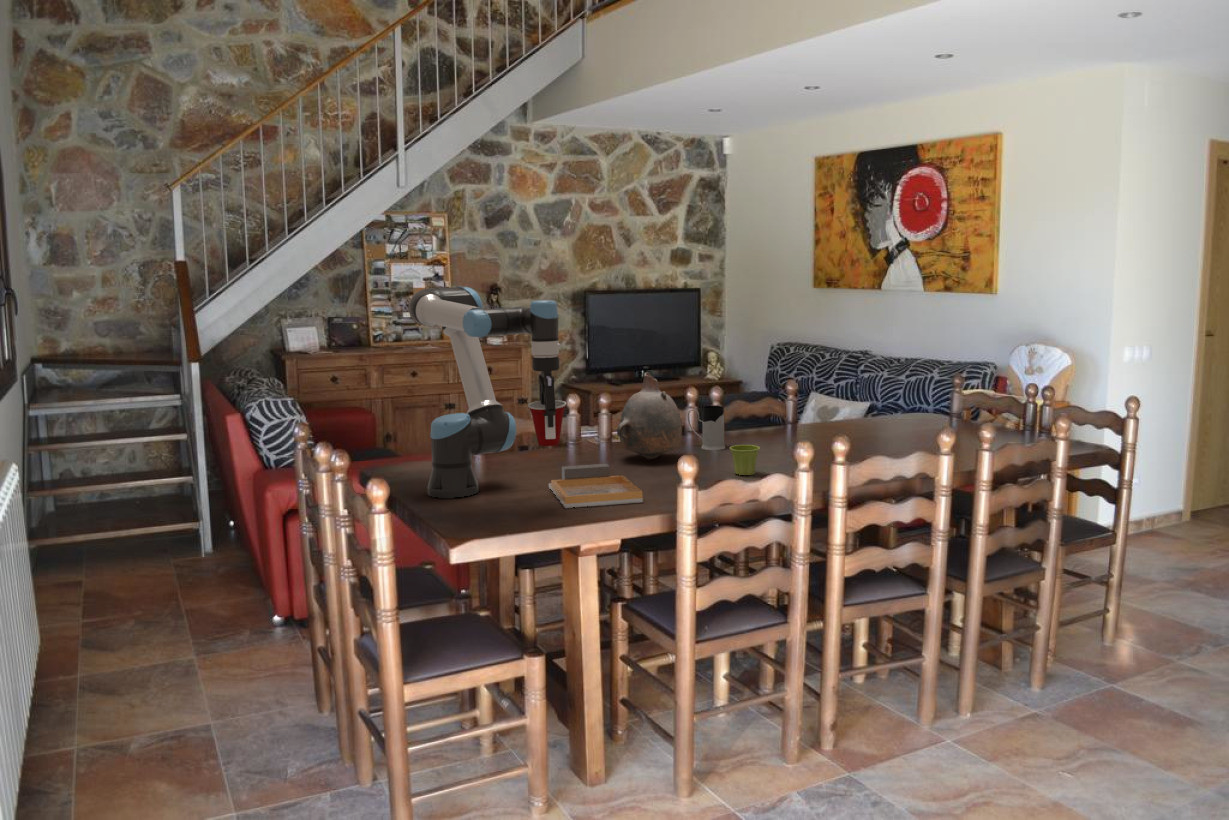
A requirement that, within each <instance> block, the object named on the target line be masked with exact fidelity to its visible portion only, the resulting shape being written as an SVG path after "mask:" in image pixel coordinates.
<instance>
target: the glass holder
mask: <svg viewBox="0 0 1229 820" xmlns="http://www.w3.org/2000/svg"><path fill="white" fill-rule="evenodd" d="M724 410H725V409H724V406H722V405H705V406H702V420H701V418H700V413H699V411H698V410H697V409H695V408H693V409H690V410H689V411H688V412H687V422H688V424H689V427H690V430H691V431H692V432H693V433H694V434H695V435H696V436H697V437H699V438H700V440H701V442H702V445H701V450H706V451H720V450H721V449H722V450H726V446H725V412H724ZM692 411H694V412H696V413H697V417H698V418H697V420H698V421H699V422H701V423H702V430H701V431H702V436H701V435H700V434H698V432H697V431H695V429H694V428H693V427H692V425H691V422H690V412H692Z"/></svg>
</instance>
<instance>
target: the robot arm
mask: <svg viewBox="0 0 1229 820" xmlns="http://www.w3.org/2000/svg"><path fill="white" fill-rule="evenodd" d="M529 305H530V306H529V307H528V306H522V305H521V306H513V307H501V308H484V307H483V302H482V299H481V296H480V295H479V293H478V292H477V291H476V290H475V289H473V288H471V287H469V286H454V287H452V286H451V287H449V286H448V287H428V288H423V289H421V290H418V291H417V292H415V293H414V294H413V295H412V296H411V298H410V300H409V302H408V313H409V315H410V316H409V317H411V319H412V320H413V321H414V322H415V323H417V324H419V325H420V326H426V327H433V326H434V327H435V326H439V327H441V329H442V332H443V335H445V336H447V337H449V340H450V343H451V347H452V351H453V355H454V359H455V361H456V365H457V368H458V373H459V377H460V379H461V383H462V387H463V391H464V395H465V400H466V402H467V406H468V409H467V412H457V413H449V414H445V415H441V416H438V417H436V418H435V419H433V420H432V422H431V424H430V434H429V435H430V443H431V462H432V463H431V464H432V465H431V466H432V469H431V473H430V477H429V480H428V484H427V496H429V497H431V496H432V497H431V498H435V497H438V498H437V499H455V498H454V497H462V498H465V497H464V496H468V497H471V496H470V495H472V496H474V495H473V494H475V495H477V494H479V492H478V491H479V483H478V480H477V476H476V475H475V472H474V469H473V467H472V466H473V465H472V463H473V462H472V457H473V456H479V455H485V454H492V453H495V454H496V453H500V452H503V451H506V450H508V449H509V450H510V448H511V447H512V446H513V444H514V443H515V441H516V436H517V424H516V423H517V422H516V420H515V417H514V416H513V415H512V414H511V413H510V412H508V411H505V410H504V405H503V404H501V402H499V401H497V399H496V396H495V393H494V388H493V386H492V382H491V378H490V374H489V370H488V366H487V364H486V361H485V356H484V353H483V349H482V345H481V341H480V338H483V337H492V336H507V335H509V336H510V335H523V334H524V335H528V334H529V335H531V355H532V356H533V357H532V358H531V362H532V370H533V371H534V372H540V373H538V382H539V383H538V387H539V394H538V395H539V397H538V398H539V399H538V401H541V404H542V405H545V413H543V416H545V436H546V439H556V434H555V414H556V408H555V400H556V394H555V376H553V373H552V372H555V371H558V370H559V369H560V357H559V356H558V355H559V354H560V351H559V350H560V347H561V343H559V312H558V303H557V302H556V301H555V300H546V299H544V300H543V299H542V300H532V301H531V302H530V304H529ZM476 493H477V494H476Z"/></svg>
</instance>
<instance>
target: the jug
mask: <svg viewBox="0 0 1229 820" xmlns="http://www.w3.org/2000/svg"><path fill="white" fill-rule="evenodd" d="M642 381H643V382H642V388H641V390H640V391H639V392H636V393H633V395H631V396H630V397H629V398H628V400H627V401H626V403H625V405H624V407H623V409H622V412H621V416H620V422H619V424H618V425H617V429H616V434H617V436H618V437H619V440H620V441H619V442H620V445H621V447H622V448H623V449H625V450H627V451H630V452H632V453H635V454H638V455H641V456H642V457H643V458H645V459H647V460H653V459H656V458H658V457H659V456H661V455H662V454H666V453H668V452H670V451H674V450H677V449H678V448H679V447H680V446H681V444H682V443H681V442H682V437H683V430H682V429H683V420H682V418H681V415H680V410H679V408H678V406H677V404H676V402H675V401H674V399H673V398H672V397H671V396H670V395H669V394H667V392H666V391H661V390H660V388H659V387H660V386H659V382H658V380H657V379H656V378H655V377H654V376H653V375H652V374H650V372H645V373H644V375H643V380H642Z"/></svg>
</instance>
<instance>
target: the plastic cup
mask: <svg viewBox="0 0 1229 820" xmlns="http://www.w3.org/2000/svg"><path fill="white" fill-rule="evenodd" d="M566 405H567V402H566V401H564V400H559V399H555V408H556V414H555V434H556V439H546V436H545V416H543V413H545V405H542V404H541V401H539V400H536V401H533V402H530V403H528V404H527V407H528V408H529V410H530V414H531V417H532V421H533V426H534V432H535V435H536V440H537V444H538V446H542V447H554V446H558V445H559V444H560V438H561V433H562V432H561V431H562V426H563V425H562V424H563V418H564V414H565V413H564V411H565V407H566Z"/></svg>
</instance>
